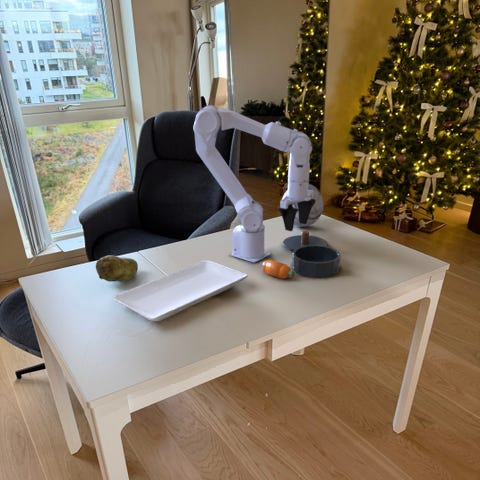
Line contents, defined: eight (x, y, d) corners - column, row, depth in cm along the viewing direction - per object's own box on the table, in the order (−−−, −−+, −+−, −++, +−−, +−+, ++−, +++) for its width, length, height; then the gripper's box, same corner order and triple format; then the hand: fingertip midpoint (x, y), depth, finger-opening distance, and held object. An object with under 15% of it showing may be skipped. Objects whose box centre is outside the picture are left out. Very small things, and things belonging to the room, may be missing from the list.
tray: (112, 308, 110) (110, 295, 108) (207, 269, 129) (206, 258, 127) (154, 333, 99) (152, 319, 98) (249, 286, 119) (249, 274, 117)
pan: (287, 274, 125) (287, 259, 123) (298, 257, 135) (299, 243, 133) (334, 280, 121) (336, 265, 119) (341, 262, 132) (343, 248, 129)
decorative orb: (297, 235, 152) (299, 191, 144) (272, 224, 162) (273, 182, 155) (329, 227, 159) (333, 184, 151) (303, 216, 169) (305, 176, 162)
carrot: (259, 274, 125) (259, 260, 123) (267, 269, 128) (268, 256, 126) (288, 283, 120) (288, 269, 118) (296, 278, 123) (297, 265, 121)
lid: (277, 251, 140) (278, 237, 137) (288, 236, 151) (289, 223, 149) (322, 256, 136) (323, 242, 133) (330, 240, 147) (331, 227, 145)
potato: (148, 278, 124) (145, 251, 120) (106, 292, 117) (101, 264, 113) (133, 269, 129) (129, 243, 125) (92, 282, 122) (86, 255, 118)
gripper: (296, 187, 117) (294, 236, 124) (324, 176, 127) (320, 223, 134) (274, 183, 121) (273, 231, 128) (302, 173, 131) (300, 218, 138)
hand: (296, 226), depth 131 cm, fingers open, 7 cm apart
